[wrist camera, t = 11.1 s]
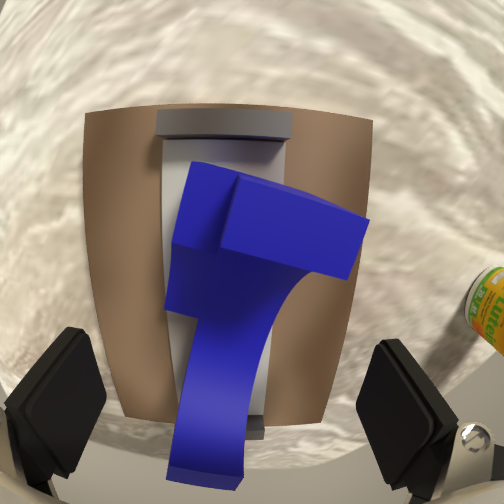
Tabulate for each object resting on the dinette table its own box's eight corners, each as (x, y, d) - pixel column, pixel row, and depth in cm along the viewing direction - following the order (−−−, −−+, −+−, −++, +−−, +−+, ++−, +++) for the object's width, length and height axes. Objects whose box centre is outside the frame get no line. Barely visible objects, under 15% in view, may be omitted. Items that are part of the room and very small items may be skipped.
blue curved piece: (202, 162, 11) (169, 159, 6) (307, 192, 12) (369, 219, 6) (155, 385, 14) (131, 470, 9) (233, 402, 15) (234, 490, 9)
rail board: (355, 124, 13) (388, 116, 10) (314, 402, 18) (325, 438, 15) (102, 118, 12) (69, 108, 9) (132, 397, 18) (119, 432, 14)
